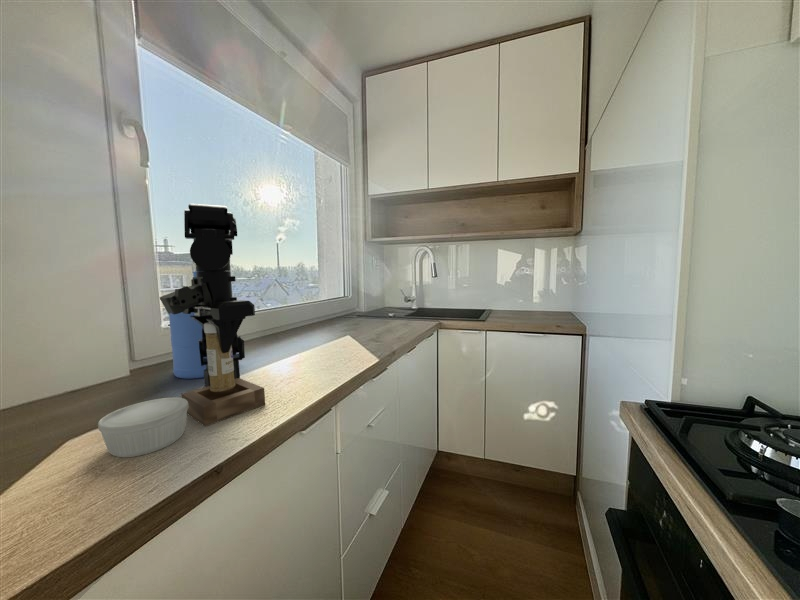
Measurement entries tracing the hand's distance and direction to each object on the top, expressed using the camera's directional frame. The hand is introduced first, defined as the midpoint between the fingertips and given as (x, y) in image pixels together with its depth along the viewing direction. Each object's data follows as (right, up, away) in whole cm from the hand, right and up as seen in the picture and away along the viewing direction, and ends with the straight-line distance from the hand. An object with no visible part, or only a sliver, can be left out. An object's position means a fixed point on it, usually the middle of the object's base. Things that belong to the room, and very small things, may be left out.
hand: (220, 351), depth 61 cm
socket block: (0, -11, +1) cm, 12 cm away
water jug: (-19, -10, +27) cm, 35 cm away
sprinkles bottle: (0, -8, +1) cm, 8 cm away
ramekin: (-5, -13, -11) cm, 18 cm away
